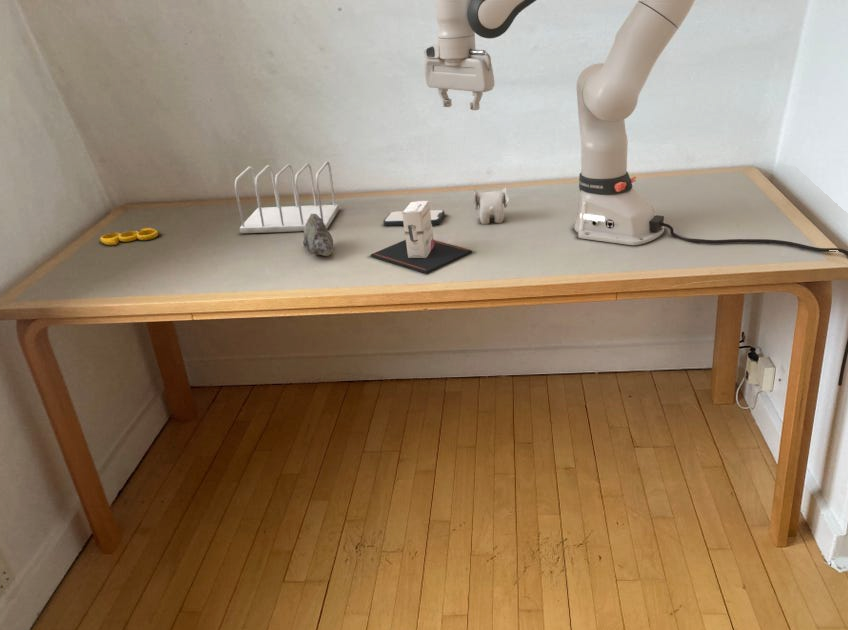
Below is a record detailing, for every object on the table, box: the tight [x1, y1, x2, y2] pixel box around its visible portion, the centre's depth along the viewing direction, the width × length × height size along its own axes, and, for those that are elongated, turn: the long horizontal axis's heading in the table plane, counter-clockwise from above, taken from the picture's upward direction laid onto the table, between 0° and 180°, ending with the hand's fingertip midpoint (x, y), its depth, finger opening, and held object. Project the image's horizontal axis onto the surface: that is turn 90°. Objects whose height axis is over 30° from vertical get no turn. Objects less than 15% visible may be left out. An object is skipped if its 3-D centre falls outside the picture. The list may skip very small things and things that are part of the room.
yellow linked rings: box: [99, 227, 159, 246], centre depth 223 cm, size 17×2×10 cm
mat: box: [370, 239, 473, 275], centre depth 193 cm, size 20×16×1 cm
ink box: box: [402, 200, 435, 258], centre depth 190 cm, size 9×5×12 cm, turn 166°
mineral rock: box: [302, 214, 335, 257], centre depth 198 cm, size 13×11×10 cm
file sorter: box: [234, 160, 340, 234], centre depth 220 cm, size 25×17×16 cm
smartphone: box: [383, 209, 446, 227], centre depth 216 cm, size 9×2×16 cm
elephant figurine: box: [472, 186, 510, 225], centre depth 209 cm, size 10×12×9 cm
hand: (461, 108), depth 192 cm, fingers open, 8 cm apart
